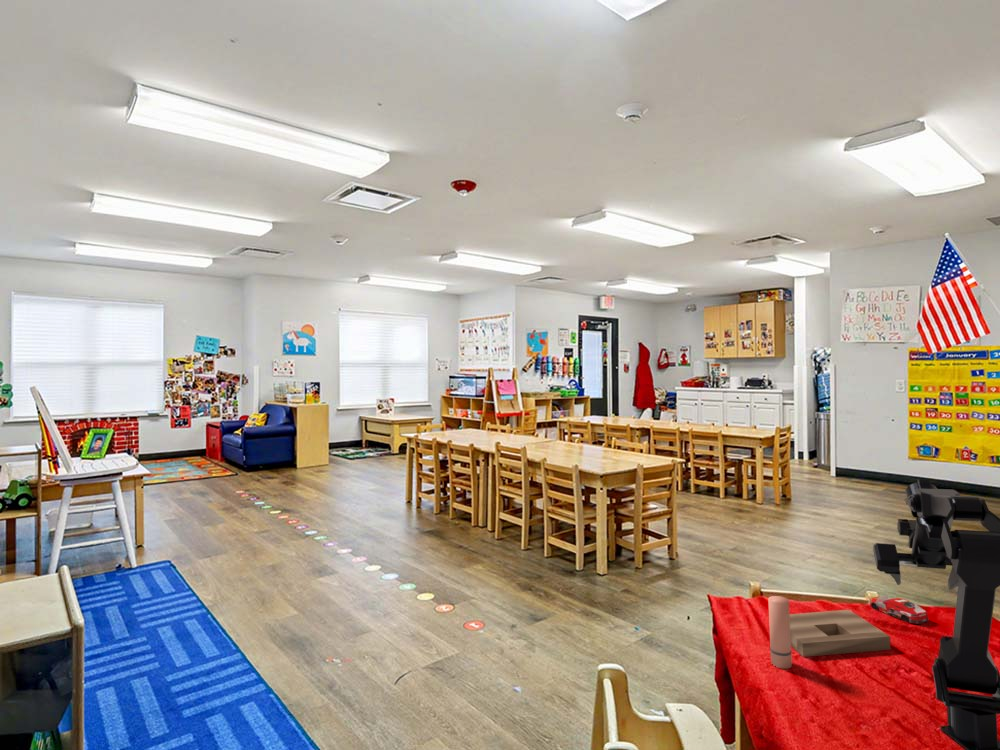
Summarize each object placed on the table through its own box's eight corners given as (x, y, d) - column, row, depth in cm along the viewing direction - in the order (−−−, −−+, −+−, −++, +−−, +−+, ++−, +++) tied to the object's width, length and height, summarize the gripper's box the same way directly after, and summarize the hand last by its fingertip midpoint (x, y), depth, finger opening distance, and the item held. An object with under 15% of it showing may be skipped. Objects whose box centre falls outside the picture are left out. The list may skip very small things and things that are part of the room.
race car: (865, 607, 151) (864, 592, 151) (881, 603, 153) (880, 588, 153) (916, 628, 139) (915, 611, 139) (932, 623, 141) (931, 607, 140)
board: (890, 649, 129) (889, 636, 129) (802, 656, 128) (802, 643, 128) (849, 621, 143) (848, 609, 143) (770, 628, 142) (769, 615, 142)
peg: (796, 668, 124) (793, 602, 124) (777, 669, 124) (774, 604, 123) (785, 658, 128) (782, 595, 128) (767, 659, 128) (764, 596, 128)
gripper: (976, 510, 121) (965, 559, 129) (871, 505, 129) (867, 551, 137) (993, 553, 113) (981, 602, 121) (879, 545, 120) (875, 592, 128)
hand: (923, 585), depth 127 cm, fingers open, 9 cm apart
